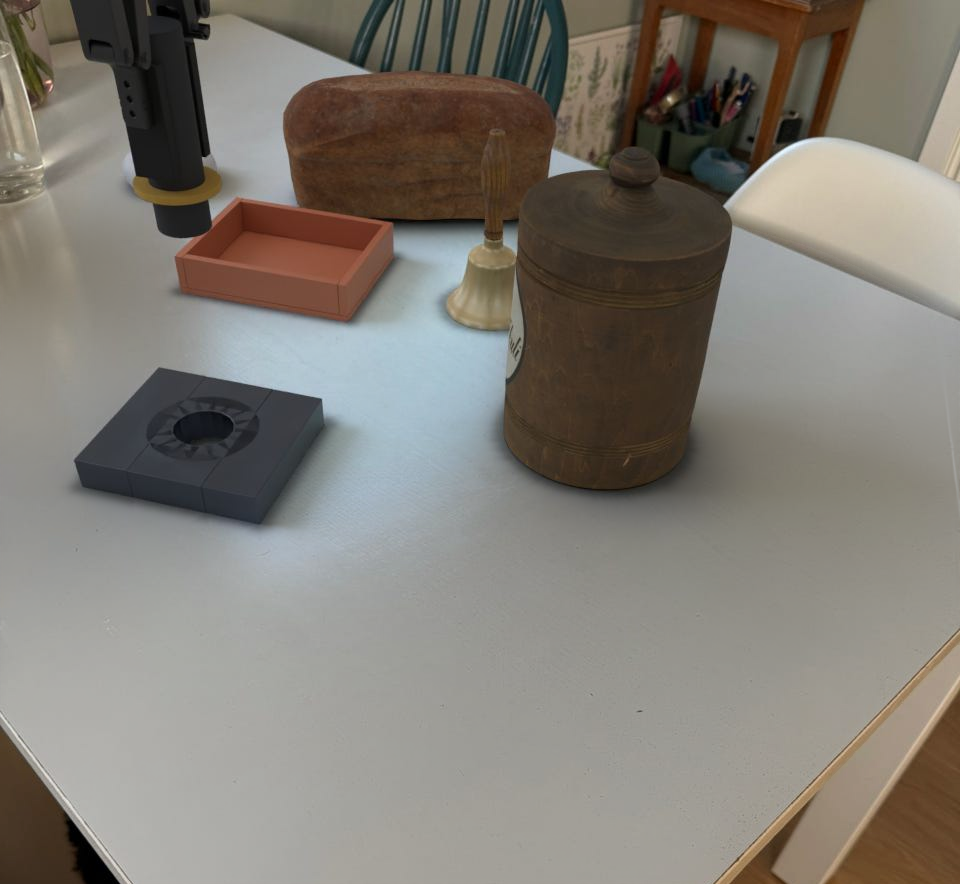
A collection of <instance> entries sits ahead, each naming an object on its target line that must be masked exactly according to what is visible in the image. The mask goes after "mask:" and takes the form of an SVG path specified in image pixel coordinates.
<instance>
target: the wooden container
mask: <svg viewBox="0 0 960 884" xmlns="http://www.w3.org/2000/svg"><path fill="white" fill-rule="evenodd" d="M732 233H733V220H732V218H731V215H730V213H729V212H728V210H727V208H725V207H724V206H723V204H722V203H720V202H719V201H718V200H717V199H716V198H714V197H713V196H711V195H709V194H708V193H706V192H704V191H703V190H700V189H698V188H696V187H694V186H692V185H689V184H687V183H685V182H682V181H679V180H675V179H672V178H669V177H665V176H662V175H661V167H660V163H659V161H658V160H657V158H656V157H655V156H654V155H653V154H651V152H650V151H649V150H648V149H645V148H644V147H641V146H627V147H625V148H623V150H621V151H619V152H616V153H615V154H613V156H612V157H611V158H610V160H609V164H608V168H607V169H606V168H605V169H582V170H574V171H569V172H565V173H564V172H563V173H559V174H556V175H553V176H550V177H548V178H547V179H545V180H542V181H541V182H539V183H537V184H536V185H534V186H533V187H531V188H530V189H529V190H528V191H527V192H526V194H525V195H524V197H523V199H522V201H521V206H520V214H519V219H518V224H517V242H516V244H517V245H516V250H517V252H516V267H515V277H514V288H513V299H512V310H511V319H510V329H509V330H508V341H507V342H508V343H507V353H506V365H505V366H506V367H505V381H504V383H505V385H504V389H505V390H504V401H503V403H504V405H503V419H502V420H503V421H502V430H503V437H504V441H505V442H506V445H507V446H508V448H509V450H510V452H511V453H512V454H513V455H514V456H515V457H516V458H517V460H519V461H520V462H521V463H523V465H525V466H526V467H528V468H529V469H531V470H532V471H534V472H536V473H538V474H539V475H541V476H544V477H546V478H548V479H550V480H552V481H554V482H555V481H556V482H558V483H561V484H565V485H570V486H572V487H573V486H574V487H576V488H584V489H593V490H620V489H629V488H635V487H638V486H641V485H644V484H648V483H651V482H654V481H656V480H658V479H660V478H661V477H663V476H665V475H666V474H667V473H669V472H671V471H672V470H673V469H674V468H675V467H676V466H677V465H678V463H679V462H680V461H681V459H682V457H683V454H684V452H685V448H686V444H687V440H688V437H689V432H690V428H691V423H692V418H693V414H694V410H695V406H696V404H697V403H696V402H697V398H698V394H699V390H700V385H701V382H702V377H703V372H704V367H705V362H706V357H707V351H708V346H709V342H710V338H711V337H710V336H711V332H712V327H713V322H714V318H715V314H716V313H715V312H716V308H717V303H718V297H719V294H720V289H721V284H722V279H723V274H724V272H725V267H726V264H727V260H728V257H729V253H730V247H731V241H732Z"/></svg>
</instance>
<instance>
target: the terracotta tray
mask: <svg viewBox="0 0 960 884" xmlns="http://www.w3.org/2000/svg"><path fill="white" fill-rule="evenodd" d="M211 220H212V228H211V229H210V230H209V231H208V232H207V233H205V234H203V235H200V236H197V237H192V238H191V239H190V241H188V242H187V243H186V244H185V245H184V246H183V247H182V248H181V249H180V250H179V251H178V252H177V253H176V254H175V255H173V256H174V263H175V267H176V273H177V278H178V283H179V287H180V288H179V289H180V292H181V293H183V294H188V295H189V294H190V295H194V296H199V297H205V298H206V297H207V298H212V299H216V300H217V299H218V300H221V301H228V302H234V303H239V304H245V305H249V306H256V307H261V308H266V309H273V310H278V311H282V312H283V311H284V312H289V313H294V314H299V315H305V316H306V315H307V316H310V317H311V316H312V317H317V318H321V319H328V320H334V321H340V322H344V323H349V321H350V320H352V319H351V318H352V317H353V316H354V315H355V313H356V311H357V310H358V309H359V307H360V306H361V305H362V303H363V302H364V300H365V299H366V298H367V296H369V295H368V294H369V293H370V292H371V290H372V289H373V287H374V286H375V285H376V283H377V282H378V280H379V279H380V278H381V276H382V275H383V274H384V272H385V271H386V269H387V268H388V266H389V265H390V264H391V262H392V261H393V260H394V258H395V251H394V250H395V247H394V242H395V241H394V222H391V221H385V220H379V219H374V218H361V217H355V216H349V215H343V214H337V213H330V212H324V211H318V210H312V209H306V208H300V207H299V206H295V205H293V206H292V205H287V204H280V203H275V202H268V201H263V200H257V199H251V198H244V197H238V196H236V197H235V198H234V199H232V200H231V202H230V203H228V204H227V205H226V206H225V207H224V208H223V209H222V210H221V211H220V212H219V213H218V214H217V215H216V216H214V218H213V219H211Z"/></svg>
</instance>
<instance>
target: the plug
mask: <svg viewBox="0 0 960 884" xmlns="http://www.w3.org/2000/svg"><path fill="white" fill-rule="evenodd" d="M147 16H148V27H149V38H150V48H151V63H157V64H161V65H162V71H163V76H164V82H165V88H166V94H167V100H168V106H169V112H170V117H171V123H172V129H173V135H174V141H175V147H176V153H177V158H178V164H179V170H180V176H181V179H179V180H178V181H177V182H176V183H173V182H168V181H162V180H156V179H150V178H144V177H138V176H135V177H134V179H133V187H134V188H133V187H132V188H133V191H134V194H135V195H136V196H137V197H138V198H140V200H143V201H145V202H148V203H151V204H152V207H153V212H154V218H155V223H156V227H157V228H156V229H157V230H158V231H159V233H160V234H161V235H164V236H166V237H168V238H174V239H193V238H194V237H197V236H200V235H203V234H205V233H207V232H208V231H209V230H210V229H211V228H212V220H213V219H212V214H211V207H210V201H209V200H210V199H212V198H214V197H215V196H217V195H219V193H220V192H221V190H222V187H223V184H222V183H223V182H222V178H221V175H220V174H219V173H218V171H217V172H216V171H215V170H213V169H211V168H209V167H206V166H203V161H202V154H201V148H200V141H199V134H198V128H197V121H196V115H195V108H194V102H193V95H192V89H191V82H190V76H189V69H188V62H187V56H186V49H185V43H184V36H183V30H182V25H181V23H180V22H179V21H178V20H176V19H173V18H169V17H164V16H151V15H147Z"/></svg>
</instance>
